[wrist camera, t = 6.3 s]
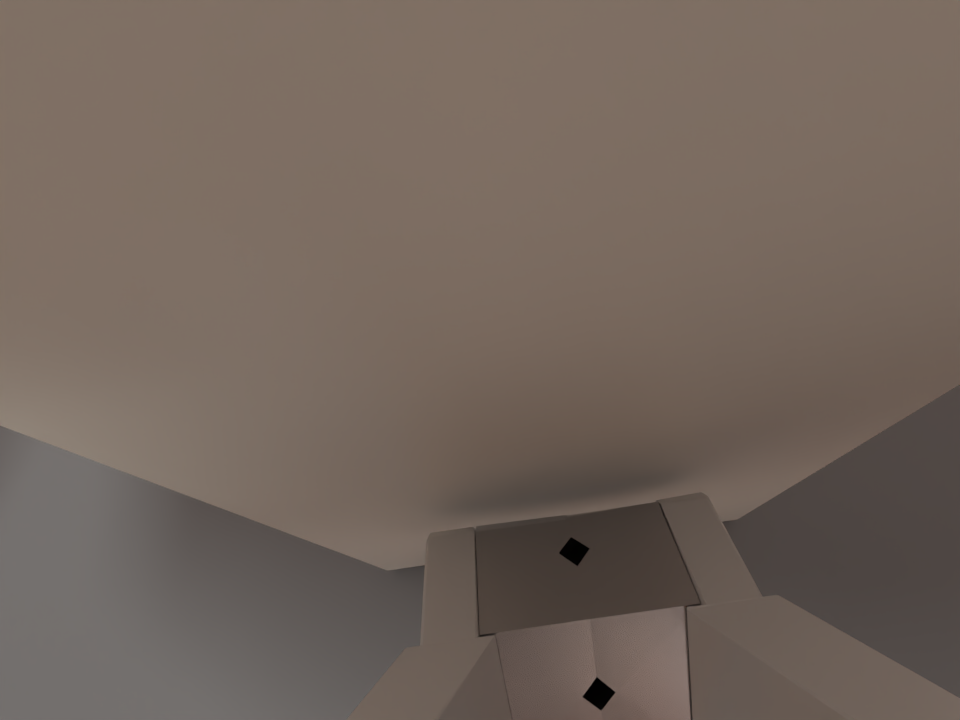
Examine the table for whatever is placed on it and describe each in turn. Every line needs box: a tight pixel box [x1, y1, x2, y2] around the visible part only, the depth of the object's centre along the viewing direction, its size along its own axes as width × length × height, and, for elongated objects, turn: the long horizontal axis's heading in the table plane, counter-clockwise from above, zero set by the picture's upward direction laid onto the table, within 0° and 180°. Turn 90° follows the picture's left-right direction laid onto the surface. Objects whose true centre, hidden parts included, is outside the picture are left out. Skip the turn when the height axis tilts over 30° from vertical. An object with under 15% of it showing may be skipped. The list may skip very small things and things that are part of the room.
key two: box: [0, 0, 960, 571], centre depth 8 cm, size 4×6×12 cm
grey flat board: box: [0, 385, 960, 720], centre depth 13 cm, size 12×42×1 cm, turn 98°
